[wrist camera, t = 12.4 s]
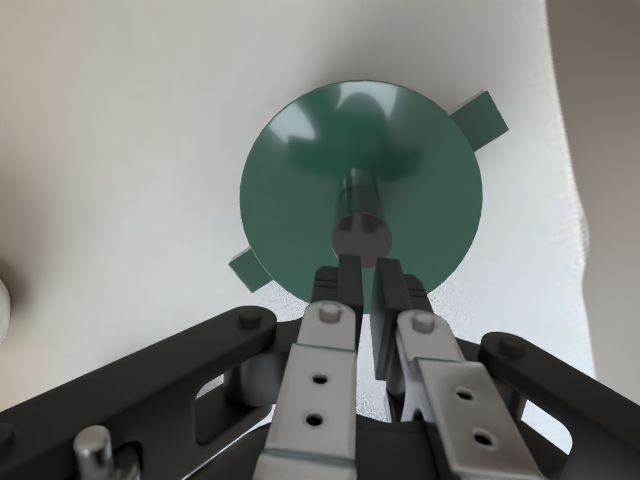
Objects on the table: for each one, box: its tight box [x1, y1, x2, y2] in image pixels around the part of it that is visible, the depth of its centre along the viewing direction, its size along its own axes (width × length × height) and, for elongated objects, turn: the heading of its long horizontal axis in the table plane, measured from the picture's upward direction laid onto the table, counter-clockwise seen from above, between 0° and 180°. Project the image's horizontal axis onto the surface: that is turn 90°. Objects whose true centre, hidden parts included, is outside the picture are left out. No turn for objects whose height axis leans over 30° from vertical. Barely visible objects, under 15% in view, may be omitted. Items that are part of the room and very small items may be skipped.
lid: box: [240, 80, 483, 314], centre depth 21 cm, size 13×13×6 cm
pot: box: [229, 90, 509, 293], centre depth 27 cm, size 12×17×8 cm
